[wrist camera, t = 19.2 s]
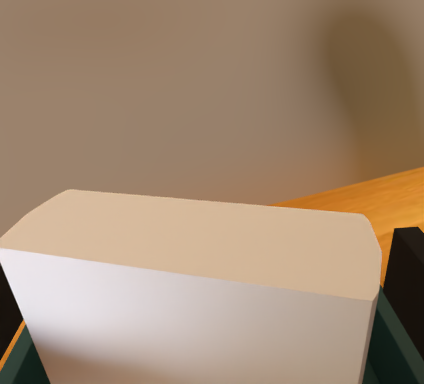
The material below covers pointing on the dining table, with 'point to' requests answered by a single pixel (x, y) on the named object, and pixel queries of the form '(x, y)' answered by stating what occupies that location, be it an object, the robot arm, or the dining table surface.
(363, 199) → the dining table surface
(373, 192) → the dining table surface
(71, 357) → the cylinder with rectangular tab
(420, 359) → the bin
